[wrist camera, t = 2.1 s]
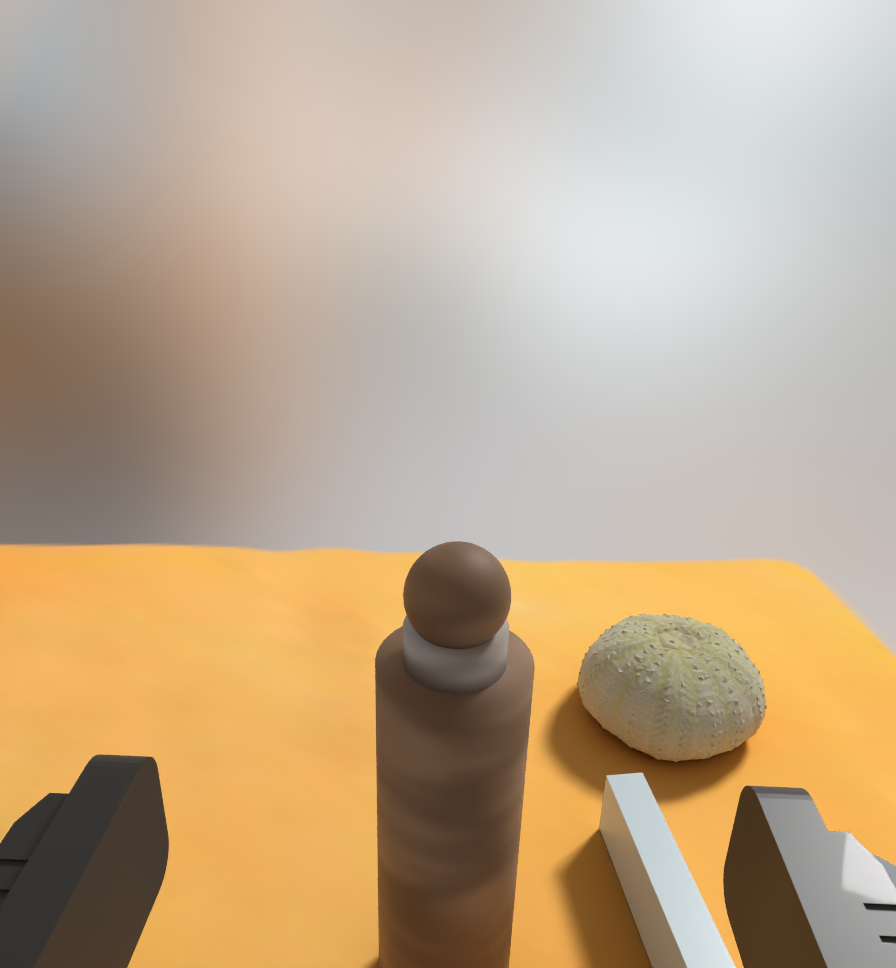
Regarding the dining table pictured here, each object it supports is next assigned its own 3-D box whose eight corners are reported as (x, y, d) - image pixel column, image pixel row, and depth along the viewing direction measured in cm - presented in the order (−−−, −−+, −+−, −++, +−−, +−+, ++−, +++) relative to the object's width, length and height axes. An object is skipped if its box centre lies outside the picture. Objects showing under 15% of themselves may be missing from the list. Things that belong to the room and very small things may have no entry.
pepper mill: (383, 1052, 27) (378, 598, 20) (375, 927, 31) (369, 513, 24) (519, 1035, 28) (563, 589, 20) (494, 915, 32) (523, 507, 24)
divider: (716, 1136, 25) (733, 1077, 24) (599, 827, 36) (606, 775, 35) (765, 1129, 25) (785, 1070, 24) (634, 824, 36) (642, 772, 35)
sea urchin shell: (816, 738, 39) (721, 645, 36) (686, 832, 40) (585, 751, 38) (734, 627, 47) (652, 545, 44) (629, 709, 49) (543, 635, 46)
